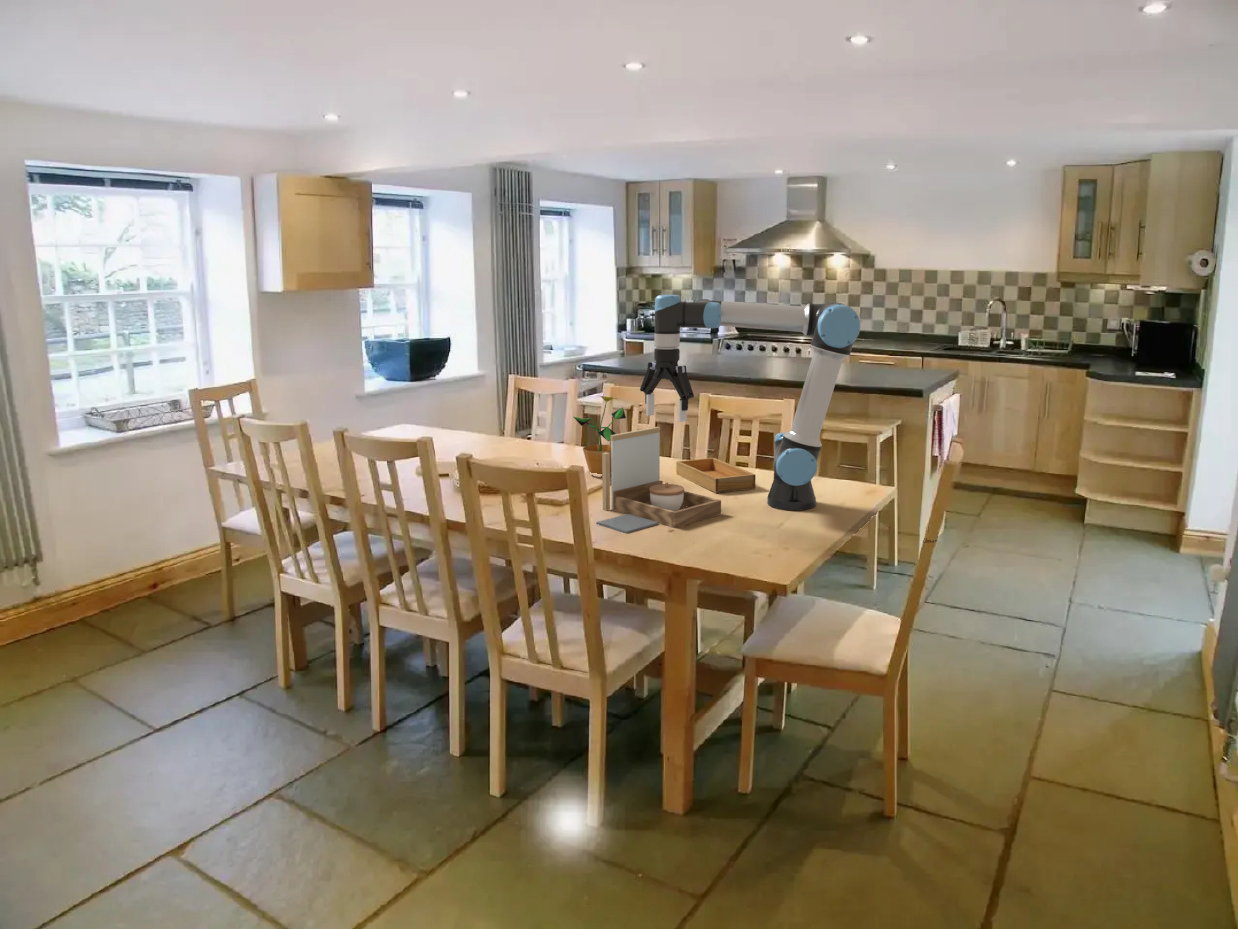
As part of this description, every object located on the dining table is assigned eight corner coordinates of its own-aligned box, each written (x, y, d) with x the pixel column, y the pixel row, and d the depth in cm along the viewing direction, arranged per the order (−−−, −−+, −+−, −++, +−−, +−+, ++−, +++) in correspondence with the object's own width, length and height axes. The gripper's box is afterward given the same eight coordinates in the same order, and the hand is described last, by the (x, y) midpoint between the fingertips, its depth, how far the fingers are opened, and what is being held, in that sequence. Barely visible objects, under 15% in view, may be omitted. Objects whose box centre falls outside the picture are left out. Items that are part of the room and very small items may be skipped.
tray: (676, 475, 335) (676, 460, 334) (713, 471, 341) (713, 456, 339) (715, 495, 307) (715, 478, 306) (755, 490, 313) (755, 474, 312)
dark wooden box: (720, 514, 283) (721, 495, 282) (674, 527, 270) (674, 508, 269) (659, 498, 302) (659, 480, 301) (613, 510, 289) (613, 491, 288)
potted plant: (632, 479, 328) (631, 395, 322) (580, 482, 324) (578, 397, 317) (620, 468, 345) (620, 388, 339) (570, 471, 341) (569, 390, 334)
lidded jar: (644, 509, 289) (644, 480, 287) (675, 506, 293) (675, 477, 291) (657, 518, 279) (657, 488, 277) (689, 515, 283) (690, 485, 281)
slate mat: (658, 524, 274) (658, 522, 273) (626, 533, 265) (626, 531, 265) (628, 515, 283) (628, 513, 283) (596, 524, 274) (596, 522, 274)
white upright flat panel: (660, 498, 302) (660, 427, 297) (609, 511, 288) (608, 436, 282) (653, 496, 304) (653, 426, 299) (602, 509, 290) (601, 435, 284)
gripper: (706, 350, 268) (705, 422, 273) (646, 343, 286) (646, 411, 291) (689, 351, 263) (687, 425, 268) (629, 345, 281) (628, 414, 286)
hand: (665, 418), depth 280 cm, fingers open, 13 cm apart
